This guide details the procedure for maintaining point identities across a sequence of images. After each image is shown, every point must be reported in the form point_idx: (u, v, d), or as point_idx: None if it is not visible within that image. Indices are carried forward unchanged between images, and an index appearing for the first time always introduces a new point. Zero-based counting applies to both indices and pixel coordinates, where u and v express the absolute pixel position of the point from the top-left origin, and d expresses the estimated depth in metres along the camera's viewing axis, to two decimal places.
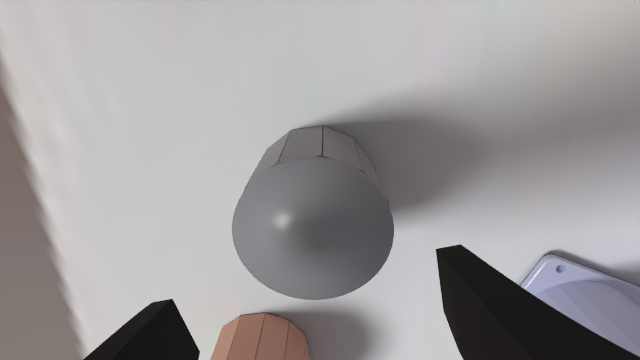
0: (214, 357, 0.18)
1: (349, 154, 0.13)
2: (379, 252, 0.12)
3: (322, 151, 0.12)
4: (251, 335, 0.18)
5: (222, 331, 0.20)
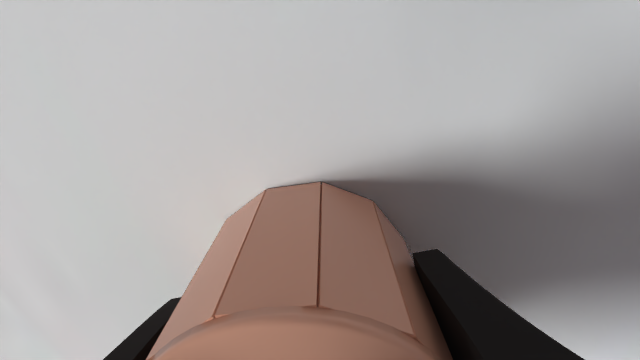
0: (206, 262, 0.07)
1: None
2: None
3: None
4: (298, 211, 0.07)
5: (225, 224, 0.09)
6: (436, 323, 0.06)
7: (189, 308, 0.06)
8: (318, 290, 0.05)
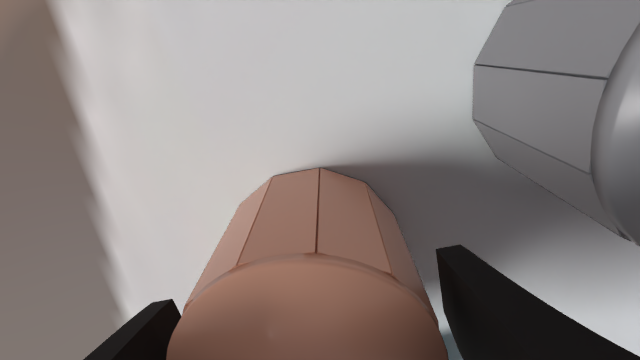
0: (226, 236, 0.09)
1: None
2: None
3: None
4: (300, 191, 0.09)
5: (239, 207, 0.10)
6: (416, 274, 0.08)
7: (216, 266, 0.07)
8: (317, 244, 0.07)
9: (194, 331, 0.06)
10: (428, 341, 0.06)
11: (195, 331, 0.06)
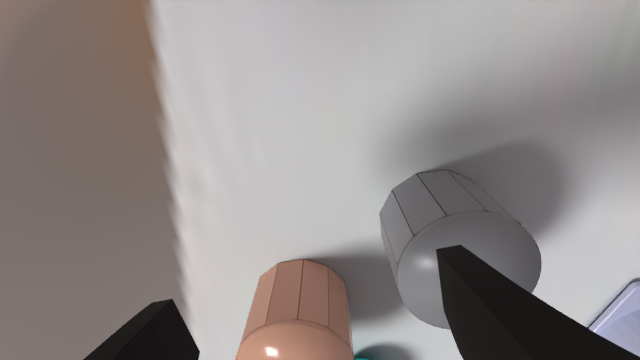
0: (256, 301, 0.18)
1: (493, 203, 0.14)
2: None
3: (478, 204, 0.14)
4: (292, 278, 0.18)
5: (260, 280, 0.20)
6: (345, 322, 0.17)
7: (255, 320, 0.16)
8: (298, 313, 0.16)
9: (247, 350, 0.15)
10: (344, 354, 0.15)
11: (248, 350, 0.15)
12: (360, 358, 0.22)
